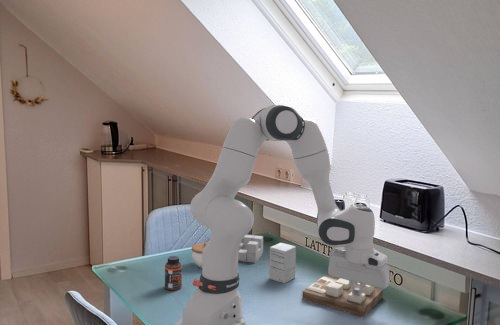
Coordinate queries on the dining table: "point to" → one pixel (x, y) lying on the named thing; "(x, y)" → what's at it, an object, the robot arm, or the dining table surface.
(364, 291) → the button far right
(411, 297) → the dining table surface
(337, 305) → the button board
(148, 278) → the dining table surface
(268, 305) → the dining table surface
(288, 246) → the supplement box
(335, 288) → the button near left
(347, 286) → the button far left
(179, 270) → the supplement bottle
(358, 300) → the button near right
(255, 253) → the puzzle cube
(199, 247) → the lidded jar
